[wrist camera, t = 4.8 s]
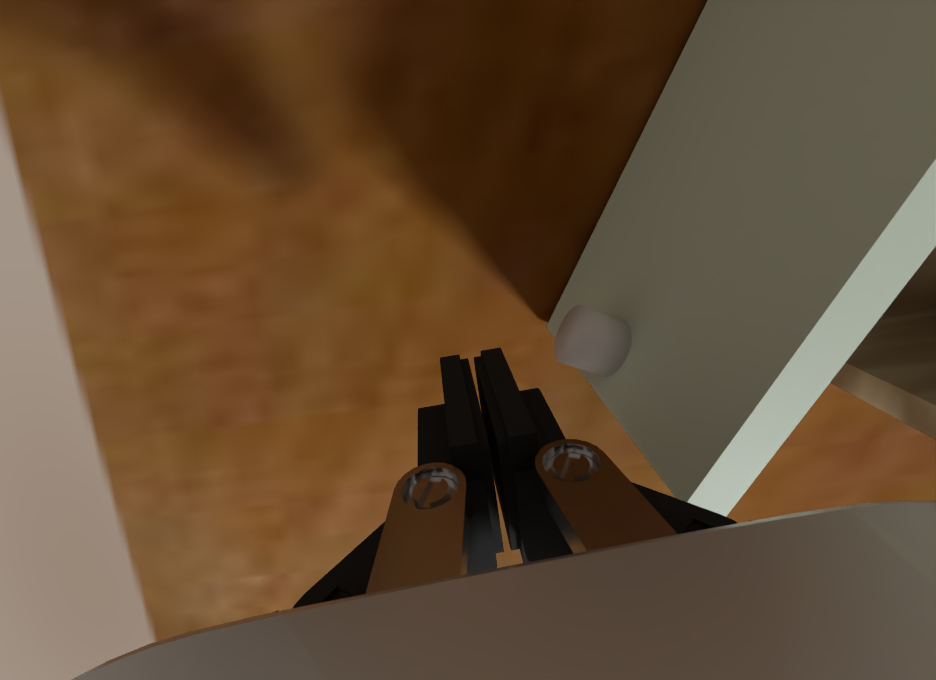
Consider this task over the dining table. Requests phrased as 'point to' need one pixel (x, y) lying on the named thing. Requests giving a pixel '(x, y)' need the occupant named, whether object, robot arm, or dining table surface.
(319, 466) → the dining table surface
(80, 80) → the dining table surface
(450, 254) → the dining table surface
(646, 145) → the door
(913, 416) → the cabinet
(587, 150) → the dining table surface
